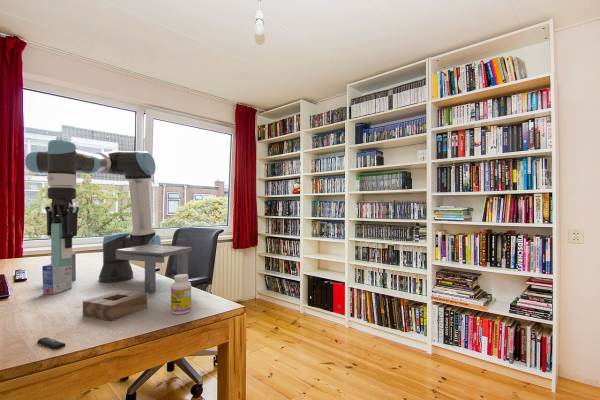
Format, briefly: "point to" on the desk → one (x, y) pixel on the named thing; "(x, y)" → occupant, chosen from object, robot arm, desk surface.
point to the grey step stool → (155, 260)
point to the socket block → (114, 305)
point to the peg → (57, 247)
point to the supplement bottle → (180, 295)
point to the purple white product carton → (73, 266)
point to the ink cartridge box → (56, 278)
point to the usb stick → (51, 343)
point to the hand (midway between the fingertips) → (61, 257)
